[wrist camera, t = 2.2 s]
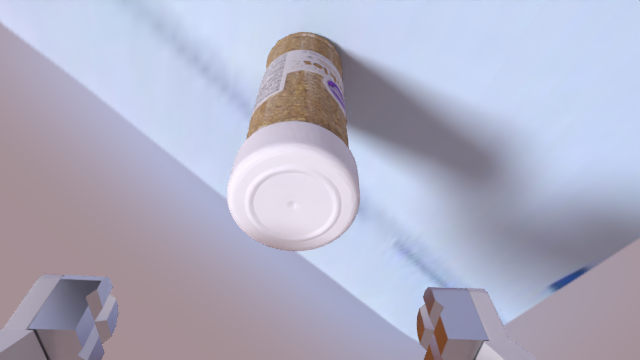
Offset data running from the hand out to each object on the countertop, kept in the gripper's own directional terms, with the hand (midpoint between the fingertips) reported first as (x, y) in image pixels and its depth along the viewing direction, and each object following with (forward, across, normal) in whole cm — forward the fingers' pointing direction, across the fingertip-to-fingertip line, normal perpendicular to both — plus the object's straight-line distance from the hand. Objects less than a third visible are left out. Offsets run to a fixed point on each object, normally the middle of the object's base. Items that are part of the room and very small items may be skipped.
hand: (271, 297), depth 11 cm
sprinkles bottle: (+17, -1, 0) cm, 17 cm away
